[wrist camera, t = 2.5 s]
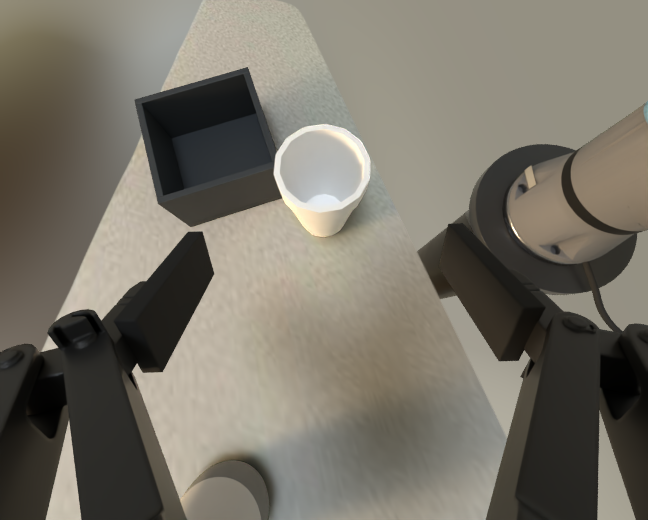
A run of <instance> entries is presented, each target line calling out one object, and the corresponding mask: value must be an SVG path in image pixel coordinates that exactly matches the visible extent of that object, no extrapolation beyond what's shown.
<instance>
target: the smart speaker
mask: <svg viewBox="0 0 648 520" xmlns="http://www.w3.org/2000/svg"><path fill="white" fill-rule="evenodd" d="M180 502H181V505H182V507H183V510H184V513H185V516H186V518H187V520H268V517H269V497H268V491H267V488H266V485H265V482H264V480H263V478H262V477H261V475H260V474H259V473H258V472H257V470H255V469H254V468H253V467H252V466H250V465H249V464H247V463H244V462H241V461H235V460H230V461H224V462H221V463H218V464H216V465H214V466H212V467H210V468H209V469H207V470H206V471H204V472H203V473H202V474H201V475H200V476H199V477H198V478H197V479H196V480H195V481H194V482H193V483H192V484H191V486H190V487H189V488H188V490H187V491H186V492H185V494H184V495H183V497H182V498H181V499H180Z"/></svg>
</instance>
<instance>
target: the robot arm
mask: <svg viewBox="0 0 648 520" xmlns="http://www.w3.org/2000/svg"><path fill="white" fill-rule="evenodd" d="M503 217H504V221H505V224H506V227H507V229H508V231H509V233H510V235H511V236H512V238H513V239H514V241H515V242H516V243H517V244H518V245H519V246H520V247H521V248H522V249H523V250H524V251H525V252H527V253H528V254H530V255H531V256H533V257H534V258H536V259H538V260H540V261H543V262H546V263H549V264H553V265H560V266H570V265H577V264H581V263H582V264H583V267H584V270H585V272H586V275H587V278H588V281H589V284H590V286H591V289H592V293H593V297H594V301H595V304H596V307H597V310H598V312H599V314H600V315H601V317H602V318H603V320H604V321H605V323H606V324H607V325H608V326H609V327H610V328H611V329H612V330H613V331H614V332H612V331H607V330H601V329H599V328H598V327H597V326H596V325H595V324H594V323H593V322H592V321H590V320H589V319H587V318H585V317H583V316H581V315H578V314H575V313H571V312H564V311H562V310H561V309H560V308H559V307H558V306H557V305H556V304H555V303H554V302H553V301H552V300H551V299H550V298H549V297H548V296H547V295H546V294H545V293H544V292H543V291H540V289H539V288H538V287H537V286H536V285H534V283H533V282H532V281H531V280H530V279H529V278H528V277H527V276H526V275H524V274H522V273H520V272H519V271H517V270H515V269H508V268H507V267H506V266H505V265H504V264H503V263H502V262H501V261H500V260H499V259H498V258H497V257H496V256H495V255H494V254H493V253H492V252H491V251H490V250H489V249H488V248H487V247H486V246H485V245H484V244H483V243H482V242H481V241H480V240H479V239H478V238H477V237H476V236H475V235H474V234H473V233H472V232H471V231H470V230H469V229H468V228H467V227H466V226H465V225H464V224H463V223H460V224H448V228H447V232H446V237H445V241H444V245H443V250H442V254H441V259H440V263H439V268H440V270H441V271H442V273H443V274H444V276H445V277H446V279H447V281H448V282H449V284H450V285H451V287H452V288H453V290H454V292H455V293H456V295H457V296H458V298H459V299H460V301H461V303H462V304H463V306H464V307H465V309H466V310H467V312H468V313H469V315H470V316H471V318H472V320H473V321H474V323H475V324H476V326H477V328H478V329H479V331H480V332H481V334H482V335H483V337H484V339H485V340H486V342H487V343H488V345H489V346H490V348H491V349H492V351H493V353H494V354H495V356H496V357H497V359H498V360H499V361H518V360H519V359H520V357H521V355H522V353H523V351H524V350H525V351H526V353H527V354H528V355H529V357H530V360H529V362H528V364H527V366H526V367H525V369H524V371H523V373H522V375H521V377H522V378H523V382H522V386H521V390H520V393H519V397H518V401H517V404H516V408H515V412H514V416H513V420H512V423H511V427H510V431H509V435H508V438H507V442H506V446H505V449H504V453H503V457H502V461H501V464H500V468H499V472H498V476H497V479H496V483H495V487H494V491H493V494H492V498H491V502H490V506H489V509H488V513H487V517H486V520H597V505H598V453H599V410H600V412H601V416H602V419H603V421H604V425H605V428H606V431H607V433H608V437H609V440H610V443H611V446H612V449H613V452H614V455H615V458H616V461H617V464H618V467H619V470H620V473H621V475H622V479H623V482H624V485H625V488H626V490H627V494H628V497H629V500H630V503H631V506H632V509H633V512H634V515H635V518H636V520H648V325H644V324H629V325H628V326H627V327H626V328H625V330H624V331H621V330H620V329H619V328H618V327H617V326H616V325H615V324H614V322H613V321H612V320H611V319H610V317H609V316H608V314H607V312H606V310H605V308H604V306H603V303H602V299H601V295H600V291H599V288H598V285H597V282H596V279H595V277H594V274H593V271H592V268H591V265H590V263H589V261H592V260H594V259H597V258H599V257H601V256H603V255H604V254H606V253H608V252H609V251H610V250H612V249H613V248H615V247H616V246H618V245H619V244H621V243H622V242H623V241H625V240H626V239H628V238H629V237H631V236H632V235H634V234H636V233H639V232H642V231H645V230H648V101H647V102H646V103H645V104H644V105H642V106H641V107H639V108H638V109H637V110H635V111H634V112H632V113H631V114H629V115H628V116H626V117H625V118H624V119H622V120H621V121H619V122H618V123H616V124H615V125H613V126H612V127H610V128H609V129H608V130H606V131H604V132H603V133H601V134H600V135H598V136H597V137H595V138H594V139H593V140H591V141H590V142H588V143H587V144H585V145H584V146H583V147H581V148H580V149H578V150H577V151H575V152H573V153H570V154H567V155H563V156H560V157H557V158H554V159H551V160H548V161H544V162H541V163H539V164H536V165H534V166H529V167H528V168H527V169H526V170H525V171H524V172H523V173H521V174H520V175H519V176H518V177H516V178H515V179H514V180H513V181H512V182H511V184H510V185H509V187H508V188H507V190H506V193H505V195H504V199H503ZM213 275H214V271H213V268H212V264H211V261H210V257H209V253H208V250H207V246H206V243H205V239H204V236H203V232H188V233H187V234H186V235H185V236H184V237H183V238H182V240H181V241H180V242H179V243H178V244H177V246H176V247H175V248H174V249H173V250H172V252H171V253H170V254H169V255H168V256H167V258H166V259H165V260H164V261H163V262H162V263H161V265H160V266H159V267H158V268H157V269H156V271H155V272H154V273H153V274H152V275H151V277H150V278H149V279H148V280H147V281H142V282H139V283H138V284H136V285H135V286H133V287H132V288H130V289H129V290H128V291H127V293H126V294H125V295H124V296H123V298H122V299H120V300H119V302H118V303H117V305H115V306H114V307H113V308H112V309H111V311H110V312H109V313H108V314H107V315H106V316H105V317H104V318H103V320H102V321H101V320H100V318H99V317H98V315H97V313H96V312H95V311H94V310H89V309H87V310H79V311H76V312H72V313H70V314H68V315H65V316H63V317H61V318H60V319H59V320H57V321H56V322H54V323H53V324H52V325H51V327H50V328H49V330H48V334H49V336H50V337H51V338H52V340H53V341H54V342H55V344H56V345H57V346H58V348H56V349H52V350H48V351H44V352H39V351H38V350H37V349H36V347H34V346H33V345H32V344H22V345H17V346H14V347H11V348H9V349H6V350H4V351H2V352H0V520H45V519H46V515H47V511H48V507H49V502H50V498H51V494H52V489H53V485H54V481H55V477H56V472H57V468H58V464H59V459H60V455H61V451H62V447H63V442H64V438H65V434H66V429H67V425H68V421H70V429H71V437H72V445H73V454H74V462H75V470H76V478H77V486H78V494H79V502H80V510H81V519H82V520H187V518H186V516H185V513H184V510H183V507H182V505H181V502H180V499H179V496H178V494H177V491H176V488H175V486H174V483H173V480H172V477H171V475H170V472H169V469H168V466H167V464H166V461H165V458H164V455H163V453H162V450H161V447H160V445H159V442H158V439H157V436H156V434H155V431H154V428H153V425H152V423H151V420H150V417H149V414H148V412H147V409H146V406H145V404H144V401H143V398H142V395H141V393H140V390H139V387H138V384H137V382H136V379H135V376H134V375H133V373H132V370H133V369H134V367H135V365H136V364H137V363H138V365H139V367H140V369H141V370H142V372H143V373H147V372H163V370H164V368H165V366H166V364H167V363H168V361H169V359H170V357H171V355H172V353H173V351H174V349H175V347H176V345H177V344H178V342H179V340H180V338H181V336H182V334H183V332H184V330H185V328H186V326H187V325H188V323H189V321H190V319H191V317H192V315H193V313H194V311H195V309H196V307H197V306H198V304H199V302H200V300H201V298H202V296H203V294H204V292H205V290H206V289H207V287H208V285H209V283H210V281H211V279H212V277H213Z"/></svg>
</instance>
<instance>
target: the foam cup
mask: <svg viewBox="0 0 648 520" xmlns="http://www.w3.org/2000/svg"><path fill="white" fill-rule="evenodd" d="M274 177H275V180H276V183H277V186H278V188H279V190H280V193H281V195H282V198H283V200H284V203H285V204H286V205H287V206H289V207H290V208H291V209H292V211H293V212H294V214H295V215H296V216H297V218H298V219H299V221H300V222H301V224H302V225H303V226H304V228H305V229H306V230H308V231H309V232H310V233H311V234H312V235H315V236H319V237H328V236H333V235H334V234H336V233H337V232H339V231H340V230H341V229H342V227H343V226H344V224H345V222H346V221H347V219H348V217H349V216H350V214H351V212H352V211H353V209H355V208H356V207H357V206H358V204H359V203H360V201H361V199H362V197H363V196H364V194H365V192H366V190H367V187H368V184H369V180H370V157H369V155H368V153H367V151H366V149H365V147H364V145H363V143H362V141H361V140H359V139H358V138H357V137H355V136H354V135H353V134H351V133H350V132H349V131H348V130H346V129H344V128H340V127H336V126H332V125H328V124H320V125H313V126H307V127H303V128H302V129H300V130H298V131H297V132H295V133H294V134H292V135H290V136H289V137H287V138H286V139H285V141H284V142H283V144H282V146H281V147H280V149H279V150H278V152H277V153H276V155H275V165H274Z"/></svg>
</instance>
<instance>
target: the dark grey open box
mask: <svg viewBox="0 0 648 520" xmlns="http://www.w3.org/2000/svg"><path fill="white" fill-rule="evenodd" d="M135 104H136V109H137V114H138V118H139V122H140V127H141V131H142V135H143V140H144V144H145V148H146V153H147V157H148V161H149V166H150V170H151V175H152V179H153V183H154V188H155V192H156V196H157V201H158V204H159V205H161V206H162V207H163V208H165V209H166V210H168V211H169V212H170V213H172V214H173V215H175V216H176V217H178V218H179V219H180V220H182V221H183V222H185V223H186V224H187V225H189V226H190V227H192V226H195V225H198V224H201V223H204V222H208V221H211V220H214V219H217V218H220V217H223V216H226V215H230V214H233V213H236V212H239V211H242V210H245V209H248V208H252V207H255V206H258V205H261V204H264V203H267V202H270V201H274V200H277V199H280V198H282V195H281V193H280V190H279V188H278V186H277V183H276V180H275V177H274V165H275V155H276V153H277V152H276V149H275V146H274V143H273V140H272V137H271V134H270V131H269V128H268V125H267V122H266V119H265V116H264V113H263V110H262V107H261V105H260V102H259V99H258V96H257V93H256V90H255V87H254V84H253V81H252V78H251V75H250V72H249V69H248V67H247V68H243V69H240V70H236V71H233V72H229V73H226V74H222V75H219V76H215V77H212V78H208V79H205V80H202V81H198V82H195V83H191V84H188V85H184V86H181V87H177V88H174V89H170V90H167V91H163V92H160V93H156V94H153V95H149V96H146V97H142V98H139V99H136V100H135Z"/></svg>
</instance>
